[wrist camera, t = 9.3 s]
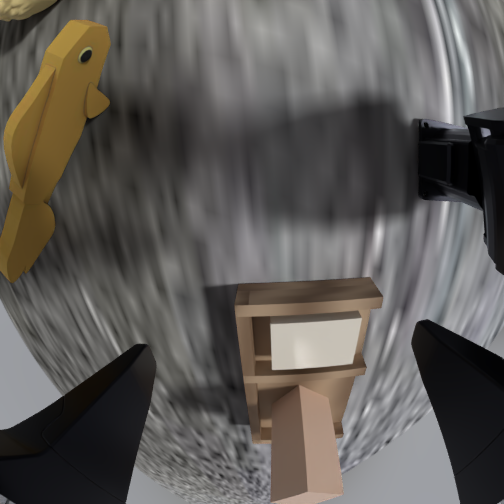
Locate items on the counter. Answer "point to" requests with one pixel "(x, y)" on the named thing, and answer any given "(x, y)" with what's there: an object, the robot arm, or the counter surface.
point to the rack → (316, 379)
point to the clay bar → (304, 450)
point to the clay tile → (314, 339)
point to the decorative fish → (49, 138)
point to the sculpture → (22, 8)
